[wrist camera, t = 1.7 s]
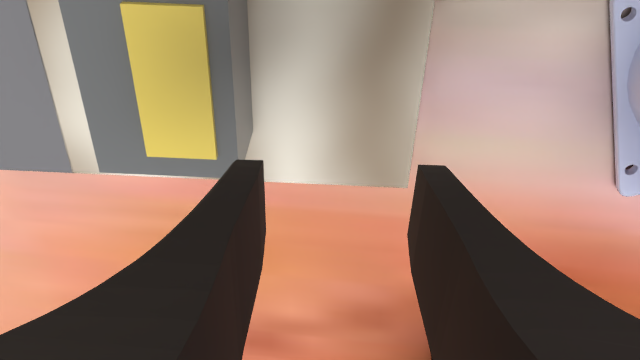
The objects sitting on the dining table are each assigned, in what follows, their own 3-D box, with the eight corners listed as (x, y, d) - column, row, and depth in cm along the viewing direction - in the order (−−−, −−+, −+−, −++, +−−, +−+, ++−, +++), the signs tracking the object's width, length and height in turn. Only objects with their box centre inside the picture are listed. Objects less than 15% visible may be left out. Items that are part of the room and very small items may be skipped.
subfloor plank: (448, -135, 18) (454, -131, 17) (405, 172, 24) (407, 187, 23) (-276, -161, 18) (-312, -159, 17) (-121, 149, 25) (-141, 163, 24)
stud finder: (244, -53, 18) (224, -25, 15) (253, 130, 22) (238, 182, 19) (96, -59, 18) (46, -32, 15) (131, 125, 22) (97, 176, 19)
